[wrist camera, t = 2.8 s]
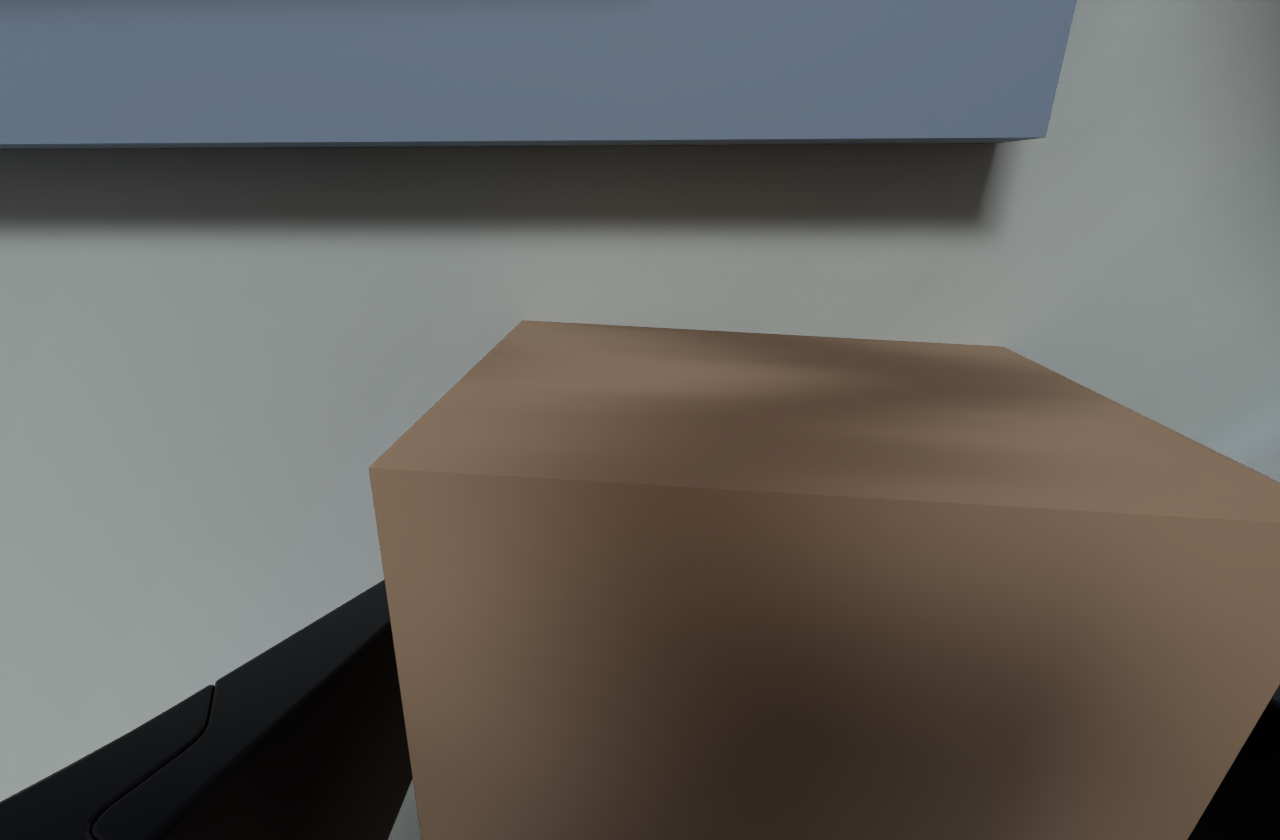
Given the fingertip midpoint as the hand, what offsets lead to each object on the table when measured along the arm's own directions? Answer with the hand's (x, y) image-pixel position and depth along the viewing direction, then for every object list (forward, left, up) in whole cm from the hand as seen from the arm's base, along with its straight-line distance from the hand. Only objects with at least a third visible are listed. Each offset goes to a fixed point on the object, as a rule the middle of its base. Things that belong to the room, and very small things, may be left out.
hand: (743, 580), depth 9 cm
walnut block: (0, 0, -1) cm, 1 cm away
